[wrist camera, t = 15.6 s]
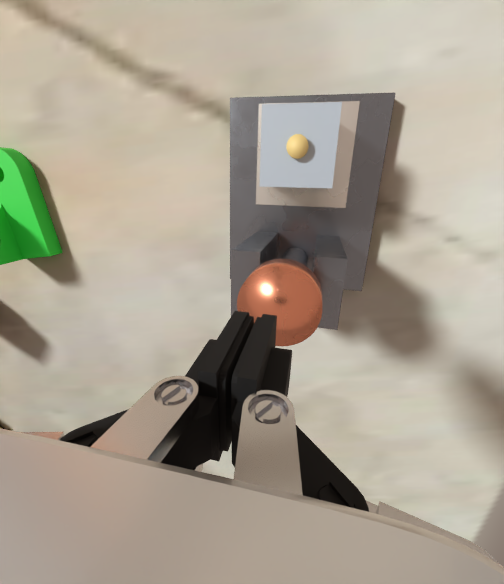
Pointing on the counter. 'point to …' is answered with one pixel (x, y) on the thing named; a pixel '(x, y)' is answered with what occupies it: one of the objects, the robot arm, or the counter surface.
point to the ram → (284, 296)
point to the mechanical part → (23, 212)
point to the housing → (299, 144)
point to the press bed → (309, 198)
